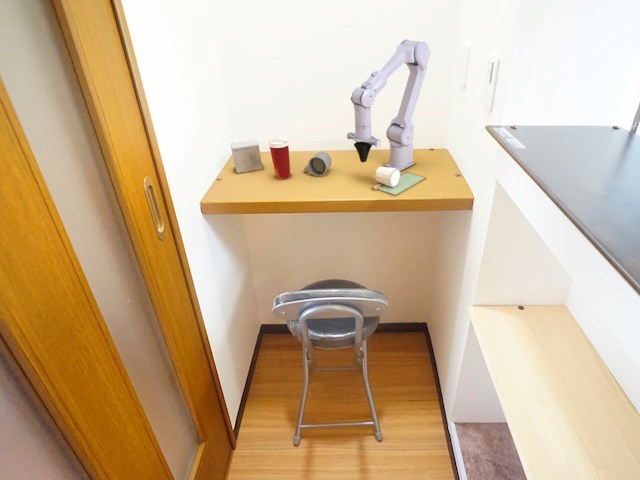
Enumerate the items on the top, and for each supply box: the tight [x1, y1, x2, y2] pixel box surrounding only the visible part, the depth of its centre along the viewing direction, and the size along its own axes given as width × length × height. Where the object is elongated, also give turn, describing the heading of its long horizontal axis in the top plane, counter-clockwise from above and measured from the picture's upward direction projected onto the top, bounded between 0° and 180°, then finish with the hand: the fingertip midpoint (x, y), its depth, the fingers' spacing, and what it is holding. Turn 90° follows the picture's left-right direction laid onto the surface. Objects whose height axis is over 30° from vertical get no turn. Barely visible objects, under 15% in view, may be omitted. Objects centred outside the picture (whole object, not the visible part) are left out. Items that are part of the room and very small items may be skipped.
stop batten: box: [372, 182, 385, 191], centre depth 146 cm, size 12×1×1 cm, turn 137°
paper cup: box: [267, 137, 291, 180], centre depth 151 cm, size 8×8×14 cm
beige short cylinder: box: [374, 166, 402, 187], centre depth 143 cm, size 7×7×7 cm
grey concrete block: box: [230, 139, 264, 174], centre depth 159 cm, size 10×6×10 cm, turn 110°
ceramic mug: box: [303, 151, 332, 177], centre depth 155 cm, size 11×8×8 cm
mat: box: [376, 172, 425, 196], centre depth 146 cm, size 18×8×1 cm, turn 137°
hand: (363, 161), depth 148 cm, fingers closed
